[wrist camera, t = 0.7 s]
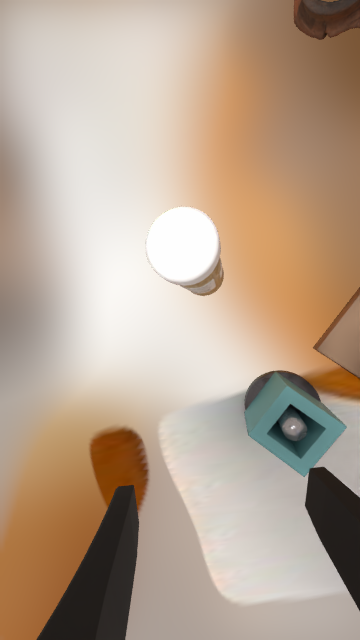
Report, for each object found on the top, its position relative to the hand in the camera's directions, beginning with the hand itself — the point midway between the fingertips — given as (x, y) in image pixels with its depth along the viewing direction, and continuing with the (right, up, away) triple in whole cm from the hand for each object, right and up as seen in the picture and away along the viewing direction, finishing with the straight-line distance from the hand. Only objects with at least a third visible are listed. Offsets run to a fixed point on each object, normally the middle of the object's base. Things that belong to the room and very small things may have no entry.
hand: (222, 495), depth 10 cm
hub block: (+20, +6, +14) cm, 25 cm away
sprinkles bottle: (+1, +12, +18) cm, 21 cm away
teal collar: (+9, -2, +15) cm, 18 cm away
